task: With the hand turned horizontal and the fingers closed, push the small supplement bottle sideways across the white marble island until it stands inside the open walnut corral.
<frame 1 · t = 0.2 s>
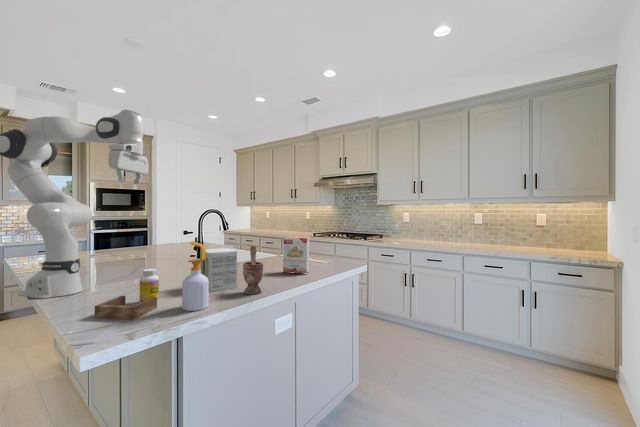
hand: (129, 182, 131), 48 cm above the worktop, fingers open, 8 cm apart
soap bottle: (195, 308, 117), on the worktop
mortar and pestle: (251, 292, 139), on the worktop
corral: (127, 312, 110), on the worktop
cracker box: (296, 273, 180), on the worktop
supplement bottle: (149, 302, 122), on the worktop
supplement box: (218, 287, 147), on the worktop
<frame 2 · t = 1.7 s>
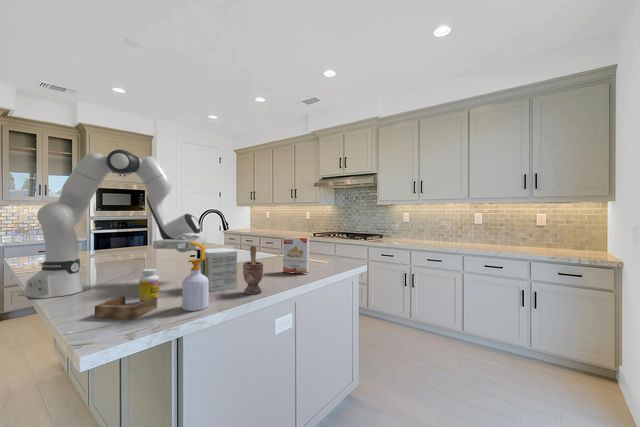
hand: (167, 246, 134), 20 cm above the worktop, fingers open, 7 cm apart
nothing on the worktop moved.
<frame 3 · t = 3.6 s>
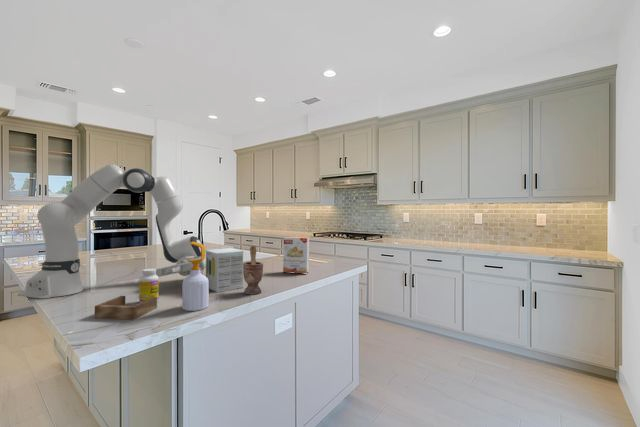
hand: (169, 270, 134), 10 cm above the worktop, fingers closed
supplement box: (224, 287, 146), on the worktop
everything else where it was.
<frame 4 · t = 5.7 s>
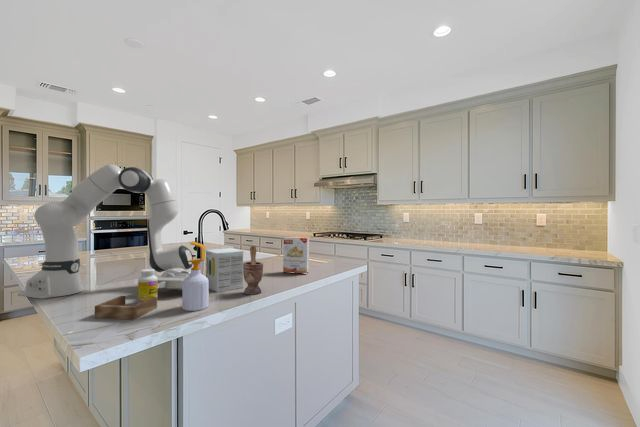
hand: (153, 286, 125), 6 cm above the worktop, fingers closed, pressing on supplement bottle
supplement bottle: (147, 303, 121), on the worktop, touching gripper
everything else where it was.
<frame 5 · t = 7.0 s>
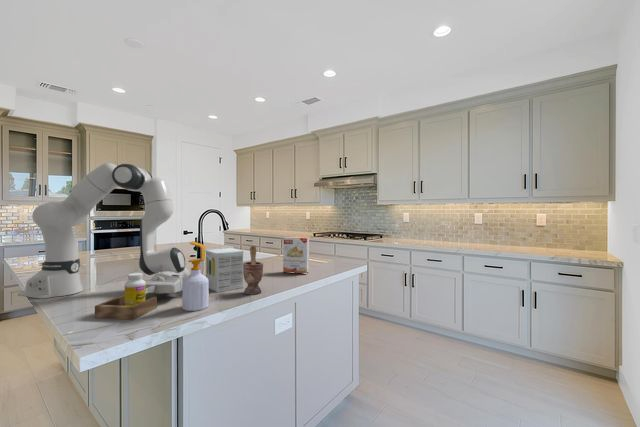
hand: (141, 291, 117), 6 cm above the worktop, fingers closed, pressing on supplement bottle
supplement bottle: (135, 309, 114), on the worktop, touching gripper
everything else where it was.
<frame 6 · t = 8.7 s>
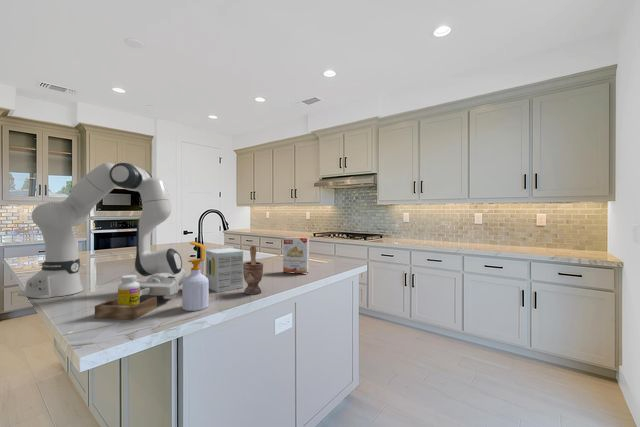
hand: (135, 293, 114), 6 cm above the worktop, fingers closed
supplement bottle: (128, 312, 111), on the worktop
everything else where it was.
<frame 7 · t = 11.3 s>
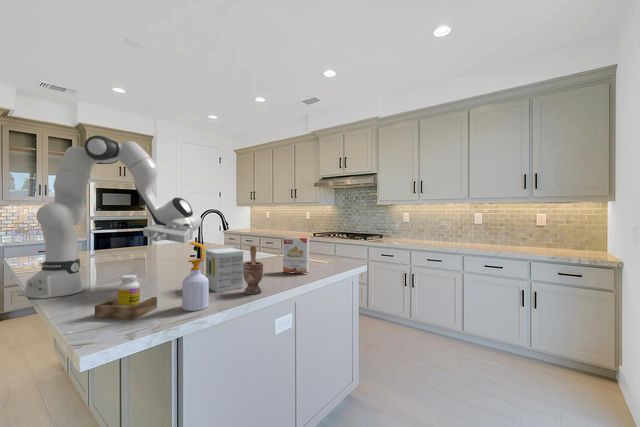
hand: (154, 239, 130), 24 cm above the worktop, fingers closed
nothing on the worktop moved.
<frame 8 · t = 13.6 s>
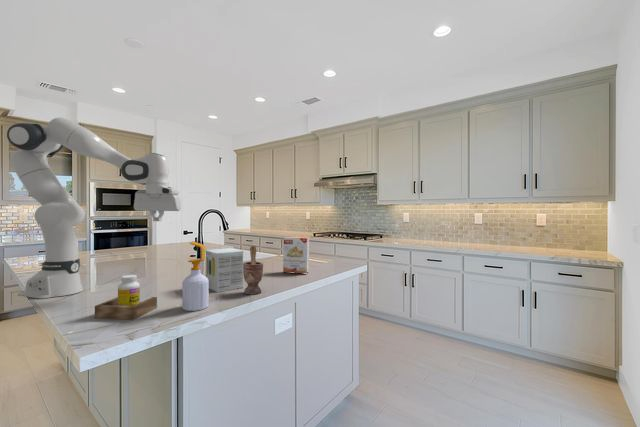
hand: (157, 221, 138), 31 cm above the worktop, fingers closed
nothing on the worktop moved.
at the end: supplement bottle inside the target area (0.7 cm from its centre), on the worktop; supplement bottle tilted 0°; supplement bottle moved 11.6 cm from its start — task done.
